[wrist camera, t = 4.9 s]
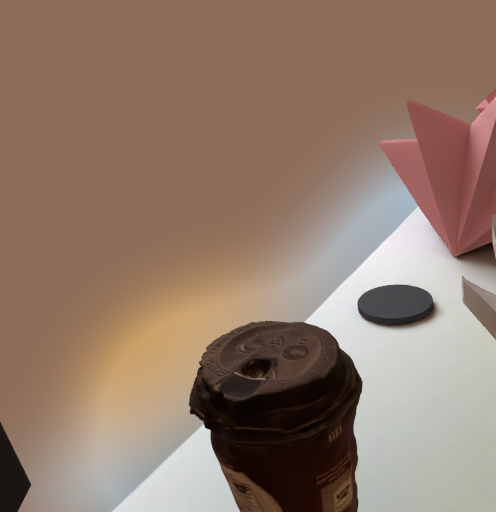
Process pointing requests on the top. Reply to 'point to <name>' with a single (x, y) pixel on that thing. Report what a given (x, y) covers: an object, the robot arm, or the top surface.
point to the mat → (395, 304)
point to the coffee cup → (281, 417)
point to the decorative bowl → (482, 297)
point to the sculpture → (451, 172)
